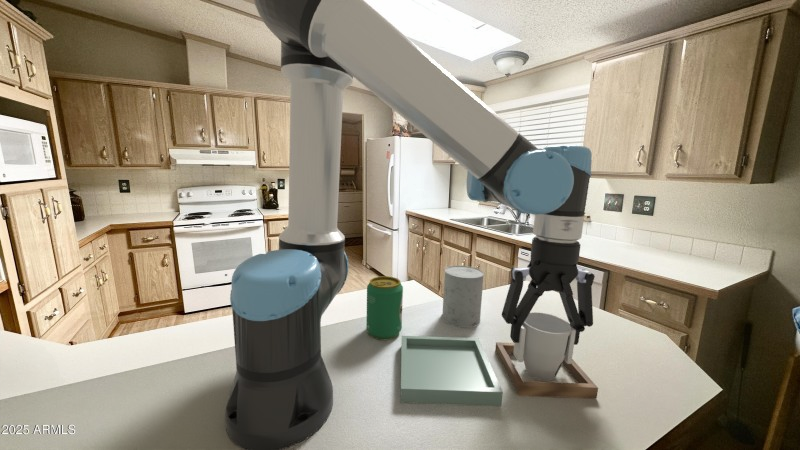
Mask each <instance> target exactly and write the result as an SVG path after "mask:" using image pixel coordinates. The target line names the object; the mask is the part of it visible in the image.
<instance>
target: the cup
mask: <svg viewBox="0 0 800 450" xmlns="http://www.w3.org/2000/svg"><path fill="white" fill-rule="evenodd" d="M523 325H524V326H525V328H526V335H525V345H524V354H523V363H524V367H525V368H524V369H525V372H526V373H527V374H528V375H529V376H530V377H532V378H534V379H536V380H539V381H541V382H552V381H553V380H555V378H556V376H557V375H558V373H559V371H560V370H561V368H562V366H563V364H562V363H563V360H564V357H565V354H566V351H567V347H568V342H569V338H570V333H571V325H570V322H569V321H568V320H567V321H566V320H565V319H564V318H562V317H559V316H557V315H553V314H550V313H546V312H540V311H530V313H529V315H528V316H527V318H526V320H525V322H524V323H523Z"/></svg>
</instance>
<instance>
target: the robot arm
mask: <svg viewBox="0 0 800 450" xmlns="http://www.w3.org/2000/svg"><path fill="white" fill-rule="evenodd" d="M253 2H254V6H255V7H256V11H257V12H258V15H259V17H260V18H261V20H262V22H263V23H264V25H265V26H266V28H267V29H268V30H269V31H270V32H272V34H273V35H274V36H275V37H276V38H277V39H278V40H279V41H280V71H281V74H282V75H283V77H284V78H286V80H287V81H288V82H289V85H290V93H289V95H290V97H289V99H290V103H289V105H290V109H289V156H288V157H289V160H288V162H289V165H288V167H289V168H288V170H289V171H288V219H287V220H288V223H287V224H288V225H287V227H286V228H285V229H283V231H282V232H281V233H280V234H279V235H278V249H275V250H270V251H267V252H266V253H258V254H256V255H253V256H250V257H249V258H247V259H246V260H244V261H243V262H241V263H240V264H239V265H238V266H237V267H236V268H235V269H234V271H233V273H232V275H231V289H230V294H229V295H230V297H229V303H230V306H231V309H232V310H231V311H232V321H233V324H232V325H233V339H234V351H235V365H236V367H235V368H236V372H235V375H234V378H233V381H232V384H231V389H230V392H229V395H228V398H227V401H226V405H225V410H224V412H225V413H224V415H225V417H224V418H225V430H226V433H227V435H228V437H229V439H230V440H231V441H232V442H233V443H234V444H236V445H237V446H239V447H241V448H244V449H246V450H282V449H284V448H288V447H291V446H293V445H296V444H298V443H300V442H301V441H304V440H305V439H307V438H308V437H309V438H310V436H312V435H313V434H315V432H317V431H318V430H319V429H321V427H322V426H323V425H324V424H325V423H326V421H327V420H328V418H329V416H330V415H331V412H332V410H333V406H334V385H333V382H332V379H331V377H330V375H329V372H328V370H327V367H326V364H325V362H324V360H323V357H322V338H321V337H322V331H321V327H322V325H321V324H322V323H321V322H322V321H321V320H322V316H323V315H324V313H325V311H327V309H328V307H329V306H330V304H331V303H332V302H333V300H334V298H335V297H336V296H337V295H338V294H339V292H341V290H342V289H343V288H344V285H345V284H346V281H347V278H348V275H349V259H348V257H347V254H346V251H345V243H346V238H345V234H343V233H342V231H340V229H339V228H338V220H339V219H338V214H339V192H340V191H339V190H340V173H341V171H340V169H341V151H342V150H341V147H342V126H343V124H342V123H343V103H344V92H345V90H346V89H348V88H349V87H350V86H351V85H352V84H353V82H354V81H353V80H354V79H355V80H357V81H358V82H359V83H360V84H361V85H363V86H364V87H365V88H366V89H368V91H370V92H371V93H372V94H373V95H375V96H376V97H377V98H379V99H380V100H381V101H382V102H384V104H386V105H387V106H388V107H389V108H391V109H392V110H393V111H394V112H396V114H398V115H399V116H400V117H402V118H403V119H404V120H405V121H407V122H408V123H409V124H410V125H411V126H413V127H414V128H415V129H416V130H418V132H420V133H421V134H422V135H424V136H425V138H427V139H428V140H430V141H431V142H432V143H433V144H435V146H437V147H438V148H439V149H440V150H441V151H443V152H444V153H445V154H447V155H448V156H449V157H450V158H451V159H453V160H454V162H456V163H457V164H458V165H460V166H461V167H463V168H464V170H466V171H467V172H466V173H467V174H466V194H467V197H468V198H469V200H471V201H479V202H483V203H487V202H493V203H499V204H501V205H504V206H507V207H510V208H511V209H514V210H515V211H516V212H518V213H520V214H527V215H528V214H531V215H534V220H533V227H532V233H533V235H535V236H534V237H533V238H532V240H531V247H530V259H529V263H528V264H527V266H526V267H521V268H518V267H516V266H513V267H512V268H511V269H510V275H511V280H510V284H509V288H508V291H507V294H506V298H505V301H504V304H503V305H504V306H503V308H502V311H501V317H502V318H503V320H504V322H505V323H506V324H508V325H511V326H510V334H509V336H510V339H511V341H512V343H514V351H513V354H514V357H515V359H516V360H517V362H518V363H524V360H523V354H524V345H525V335H526V328H525V326H524V325H523V323H524V322H525V320H526V318H527V316H528V315H529V313H530V312H532V310H533V308H534V306H535V305H536V303H537V301H538V299H539V298H540V297H542V296H543V295H544V293H545V292H552V291H553V292H557V293H558V294H559V297H560V299H561V302H562V306H563V308H564V309H563V310H564V311H565V315H566V317H567V322H568V323H569V324H570V325H571V333H570V338H569V342H568V347H567V351H566V354H565V357H564V361H565V362H566V363H567V364H571V363H572V359H573V355H574V347H575V346H576V345H578V344H579V340H580V334H581V333H583V332H585V329H586V327H592V326H594V312H593V289H592V286H593V283H594V280H595V274H594V273H592V272H591V271H589V270H587V269H585V268H584V269H578V265H577V264H578V263H579V260H580V253H581V252H580V251H581V243H580V240H581V239H582V236H583V228H584V219H585V214H586V208H587V207H586V206H587V200H588V193H589V185H590V184H589V183H590V180H591V179H590V178H592V163H593V162H592V161H593V160H592V157H593V156H592V154H593V153H592V151H591V149H590V148H588V147H587V146H583V145H548V146H544V147H543V149H542V148H538V147H537V146H535V145H534V144H533V143H532V142H531V141H529V139H527V138H526V137H525V136H523V134H521V133H520V132H518V131H517V130H516V129H515V128H514V127H512V126H511V125H510V124H509V123H508V122H507V121H505V120H504V119H503V118H502V117H501V116H500V115H499V114H497V113H496V112H495V111H494V110H492V109H491V108H490V107H489V106H488V105H487V104H486V103H484V102H483V101H482V100H481V99H480V98H479V97H477V96H476V95H475V94H474V93H473V92H472V91H471V90H469V89H468V88H467V87H465V85H463V84H462V82H460V81H459V80H457V78H455V77H454V76H453V75H451V73H450V72H448V71H447V70H446V69H445V68H443V67H442V66H441V65H440V64H439V63H437V62H436V61H435V60H434V59H433V58H431V56H430V55H428V54H427V53H426V52H424V51H423V50H422V48H420V47H419V45H416V44H415V43H414V42H413V41H412V40H411V39H409V38H408V37H407V36H406V35H405V34H404V33H403V32H401V31H400V30H399V29H397V28H396V27H395V25H393V24H392V23H391V22H389V21H388V19H386V18H385V17H384V16H383V15H382V14H381V13H379V12H378V11H376V10H375V9H374V8H373V6H371V5H369V3H368V2H367V1H365V0H253ZM578 240H579V241H578ZM528 276H529V277H530V278H531V279H530V282H529V283H528V285H527V289H526V290H525V293H524V294H523V296H522V298H521V300H520V297H521V294H522V291H523V287H524V281H526V279H527V277H528ZM575 279H576V282H577V283H576V286H577V287H576V288H577V289H576V290H577V291H576V293H577V304H576V302H575V300H574V296H573V295H574V293H573V290H572V289H573V288H572V287H571V286H572V285H571V284H572V283H573V282H574V280H575ZM519 300H520V301H519ZM577 306H578V307H577Z"/></svg>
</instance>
